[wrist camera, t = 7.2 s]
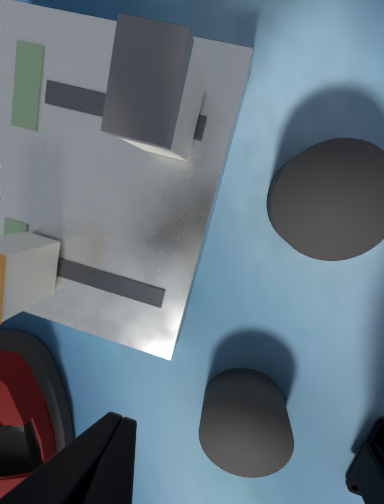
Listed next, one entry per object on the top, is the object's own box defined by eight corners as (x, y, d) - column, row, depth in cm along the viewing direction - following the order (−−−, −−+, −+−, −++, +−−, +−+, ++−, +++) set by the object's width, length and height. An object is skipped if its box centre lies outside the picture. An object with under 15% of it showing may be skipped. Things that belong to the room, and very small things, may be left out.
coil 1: (296, 384, 19) (307, 418, 16) (270, 447, 20) (276, 490, 17) (215, 357, 19) (212, 386, 16) (195, 421, 21) (189, 457, 18)
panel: (250, 71, 15) (253, 47, 12) (178, 339, 19) (170, 361, 17) (32, 26, 16) (-5, -5, 14) (11, 285, 21) (-19, 298, 18)
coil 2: (389, 162, 15) (426, 154, 12) (348, 260, 16) (372, 274, 13) (284, 138, 15) (296, 125, 13) (254, 235, 17) (258, 243, 14)
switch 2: (206, 86, 13) (190, 27, 8) (188, 162, 14) (165, 146, 9) (158, 76, 13) (117, 12, 9) (144, 151, 14) (100, 130, 10)
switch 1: (61, 241, 16) (-9, 259, 12) (54, 294, 17) (-14, 332, 12) (25, 230, 16) (-58, 244, 12) (20, 283, 17) (-59, 316, 13)
